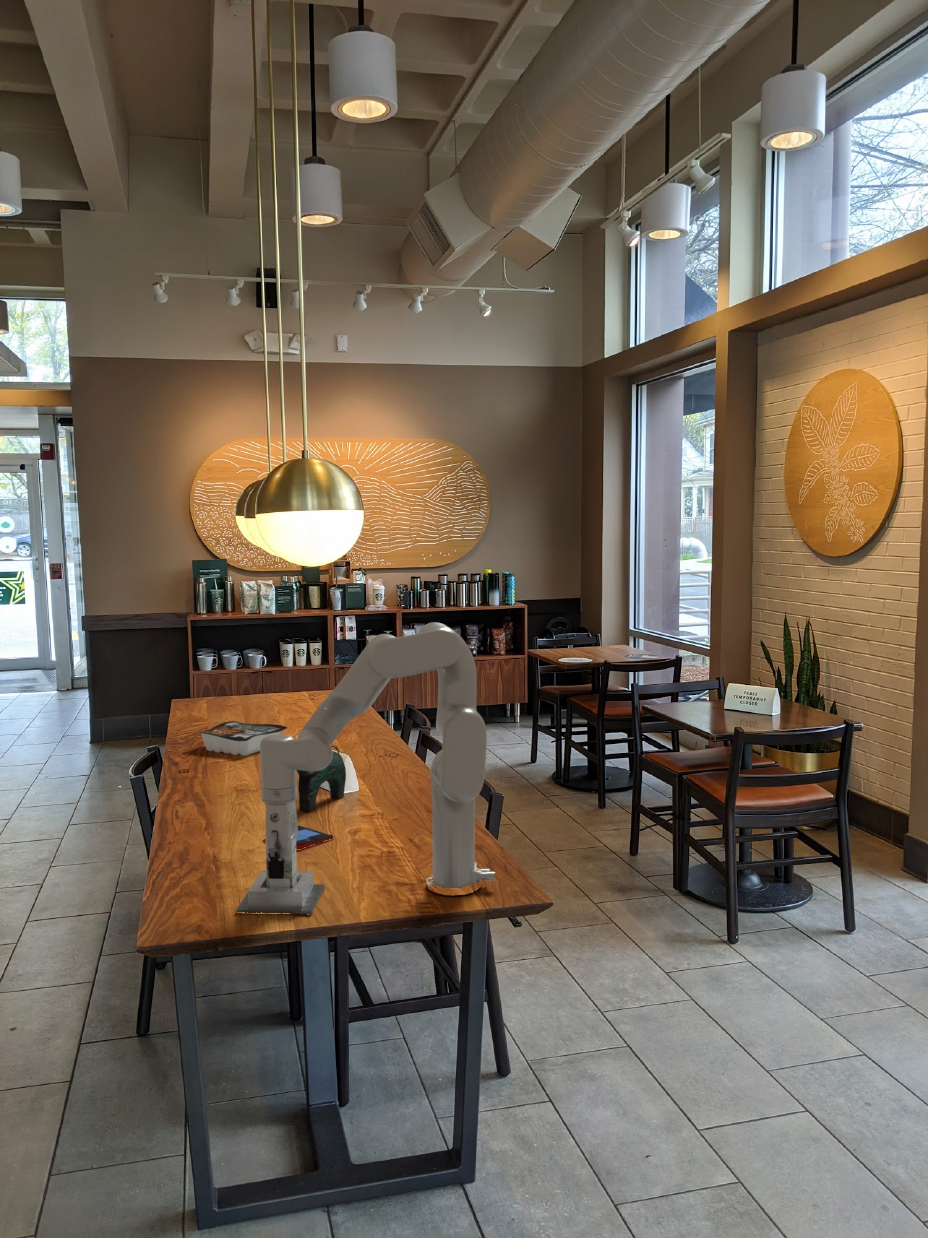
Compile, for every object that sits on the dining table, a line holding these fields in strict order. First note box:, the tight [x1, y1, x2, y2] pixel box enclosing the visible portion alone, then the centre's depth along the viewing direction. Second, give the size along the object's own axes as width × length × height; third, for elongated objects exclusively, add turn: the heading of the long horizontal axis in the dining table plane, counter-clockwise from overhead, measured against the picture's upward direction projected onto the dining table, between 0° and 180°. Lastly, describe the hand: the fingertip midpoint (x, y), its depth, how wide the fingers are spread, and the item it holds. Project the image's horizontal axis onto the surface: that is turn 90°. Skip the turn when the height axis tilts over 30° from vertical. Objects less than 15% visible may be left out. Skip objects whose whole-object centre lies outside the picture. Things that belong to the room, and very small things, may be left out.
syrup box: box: [265, 833, 298, 888], centre depth 200 cm, size 6×6×14 cm
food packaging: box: [199, 720, 289, 757], centre depth 338 cm, size 25×8×23 cm
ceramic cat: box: [297, 745, 347, 814], centre depth 270 cm, size 20×6×20 cm, turn 151°
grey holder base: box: [235, 870, 325, 915], centre depth 201 cm, size 16×14×4 cm
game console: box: [264, 825, 335, 849], centre depth 241 cm, size 14×13×2 cm
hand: (281, 869), depth 201 cm, fingers open, 9 cm apart
